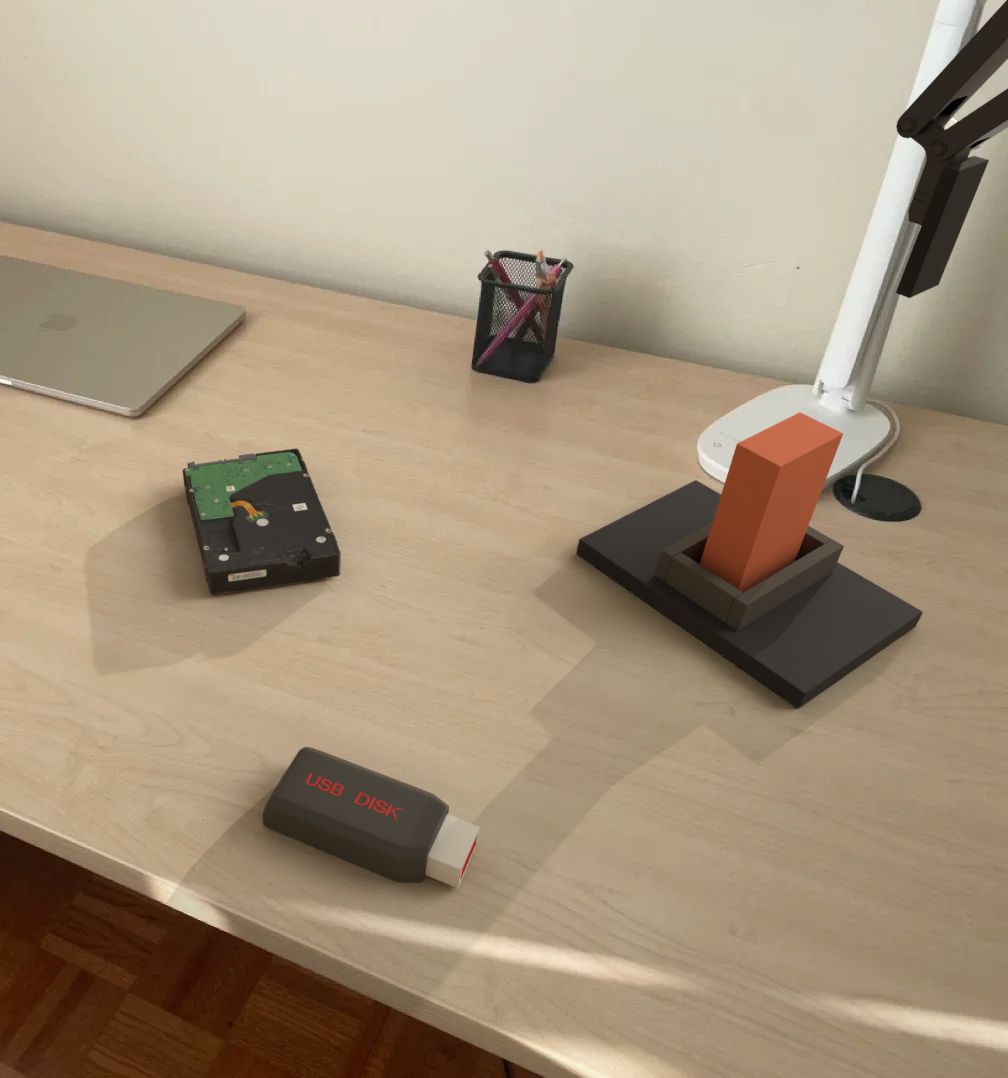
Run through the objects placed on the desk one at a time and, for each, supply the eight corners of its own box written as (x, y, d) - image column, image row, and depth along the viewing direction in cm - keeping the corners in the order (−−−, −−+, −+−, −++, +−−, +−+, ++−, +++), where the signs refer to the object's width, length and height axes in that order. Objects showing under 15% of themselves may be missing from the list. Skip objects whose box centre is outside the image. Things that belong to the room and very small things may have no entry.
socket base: (916, 626, 77) (936, 585, 74) (798, 709, 70) (816, 667, 68) (691, 493, 90) (703, 454, 87) (575, 553, 83) (584, 513, 81)
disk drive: (343, 580, 81) (298, 471, 92) (344, 552, 79) (298, 444, 91) (210, 601, 79) (180, 487, 91) (208, 573, 78) (178, 460, 89)
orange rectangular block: (792, 567, 80) (843, 433, 72) (733, 603, 77) (780, 466, 69) (754, 544, 82) (800, 411, 74) (694, 578, 79) (736, 443, 71)
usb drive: (300, 764, 67) (300, 735, 65) (481, 834, 63) (486, 805, 61) (262, 825, 63) (261, 796, 62) (451, 904, 59) (456, 876, 57)
